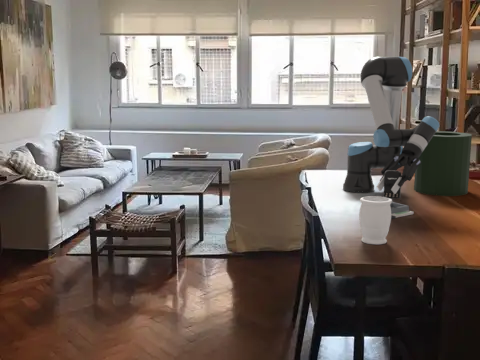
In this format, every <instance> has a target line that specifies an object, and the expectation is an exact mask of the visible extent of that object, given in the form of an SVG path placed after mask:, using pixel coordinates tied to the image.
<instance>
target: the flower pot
mask: <svg viewBox="0 0 480 360" xmlns="http://www.w3.org/2000/svg"><path fill="white" fill-rule="evenodd" d="M472 136H473V134H472V133H467V132H459V131H441V130H440V131H439V130H437V132H436V133H435V134H434V136H433V137H432V139H431V140H430V142H429V143H428V145H427V146H426V148H425V149H424V151H423V152H422V154H421V155H420V157H419V158H418V159H419V160H420V162H421V164H420V165H419V166H418V168H417V169H416V171H415V173H414V182H413V184H414V185H413V191H415V192H417V193H419V194H423V195H424V194H425V195H429V196H436V197H437V196H440V197H441V196H442V197H458V196H459V197H461V196H465V195H467V194H468V193H469V179H470V165H471V154H472V153H471V151H472Z"/></svg>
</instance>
